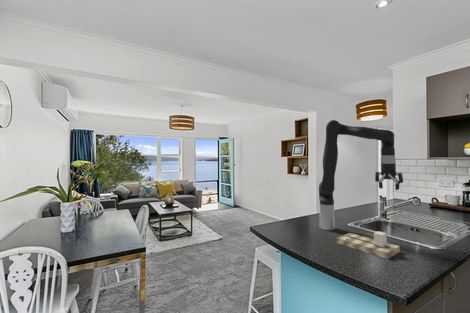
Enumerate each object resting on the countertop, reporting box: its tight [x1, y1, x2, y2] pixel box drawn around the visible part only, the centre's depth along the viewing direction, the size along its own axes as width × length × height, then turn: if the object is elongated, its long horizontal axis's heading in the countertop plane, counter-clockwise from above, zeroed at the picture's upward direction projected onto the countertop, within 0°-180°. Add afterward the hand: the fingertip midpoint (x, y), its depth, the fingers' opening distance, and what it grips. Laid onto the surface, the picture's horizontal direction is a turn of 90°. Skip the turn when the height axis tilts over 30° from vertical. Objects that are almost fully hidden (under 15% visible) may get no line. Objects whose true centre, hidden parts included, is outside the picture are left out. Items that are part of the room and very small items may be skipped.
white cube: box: [372, 231, 389, 247], centre depth 115 cm, size 5×6×6 cm
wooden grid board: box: [336, 232, 401, 260], centre depth 121 cm, size 26×14×3 cm, turn 34°
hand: (388, 189), depth 136 cm, fingers open, 8 cm apart
